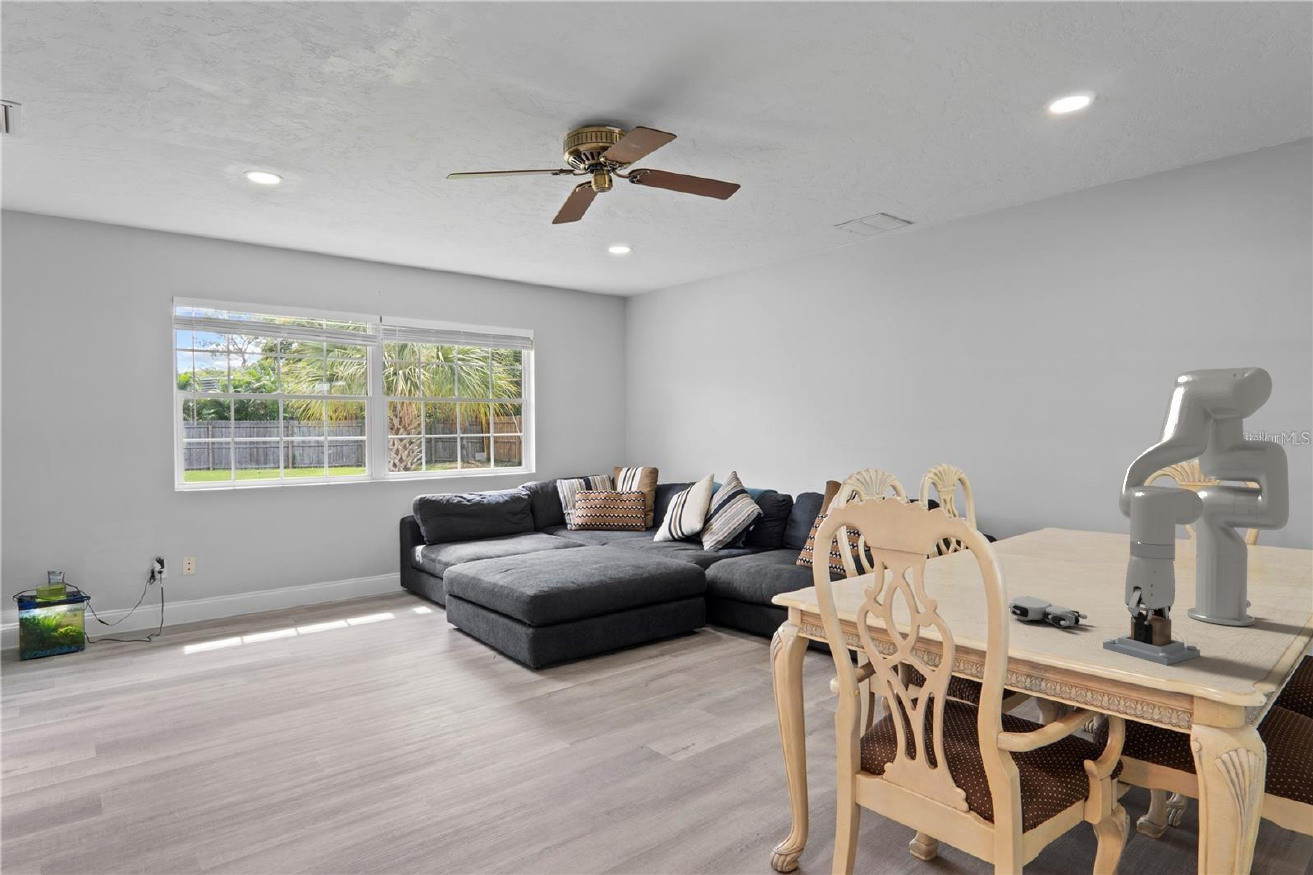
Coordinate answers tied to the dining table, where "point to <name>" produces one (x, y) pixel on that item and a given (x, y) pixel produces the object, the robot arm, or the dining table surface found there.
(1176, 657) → the base plate
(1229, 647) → the dining table surface
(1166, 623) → the walnut cube
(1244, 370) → the robot arm
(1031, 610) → the robot toy
